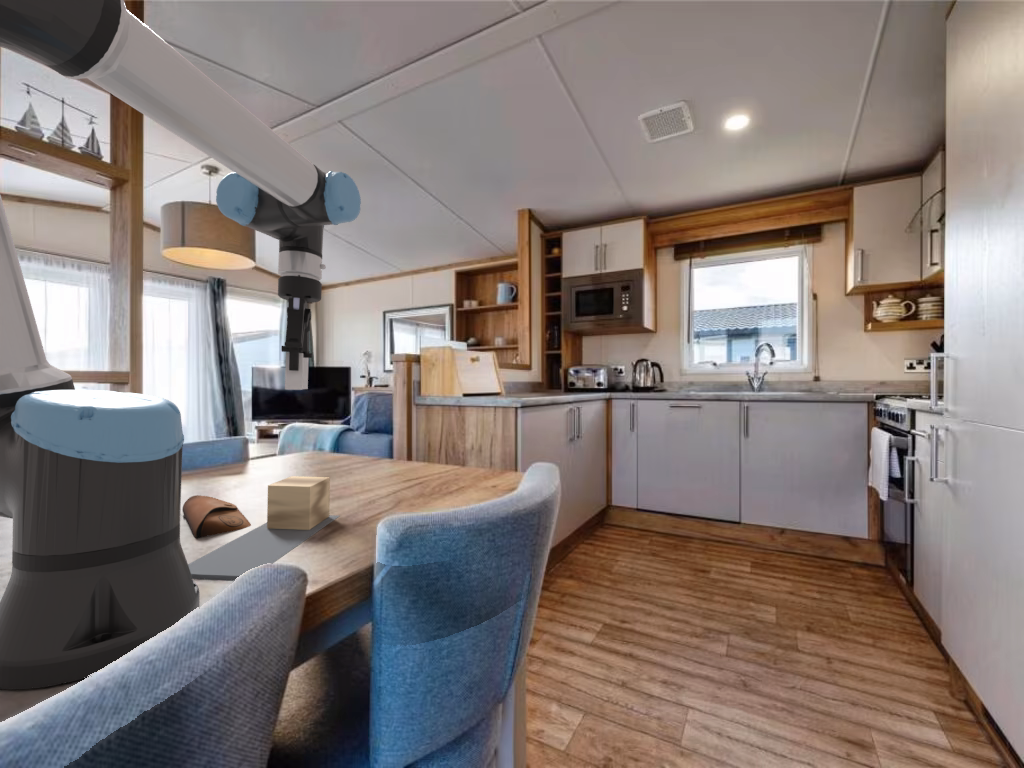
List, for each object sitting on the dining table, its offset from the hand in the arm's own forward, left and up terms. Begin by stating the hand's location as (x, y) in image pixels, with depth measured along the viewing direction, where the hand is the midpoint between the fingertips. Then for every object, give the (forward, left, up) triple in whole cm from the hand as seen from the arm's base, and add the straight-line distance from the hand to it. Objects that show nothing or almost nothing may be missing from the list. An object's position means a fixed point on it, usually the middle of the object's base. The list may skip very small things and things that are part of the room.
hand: (297, 389), depth 83 cm
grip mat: (-17, -6, -23) cm, 29 cm away
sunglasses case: (-8, +9, -24) cm, 27 cm away
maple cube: (-9, -6, -22) cm, 25 cm away
